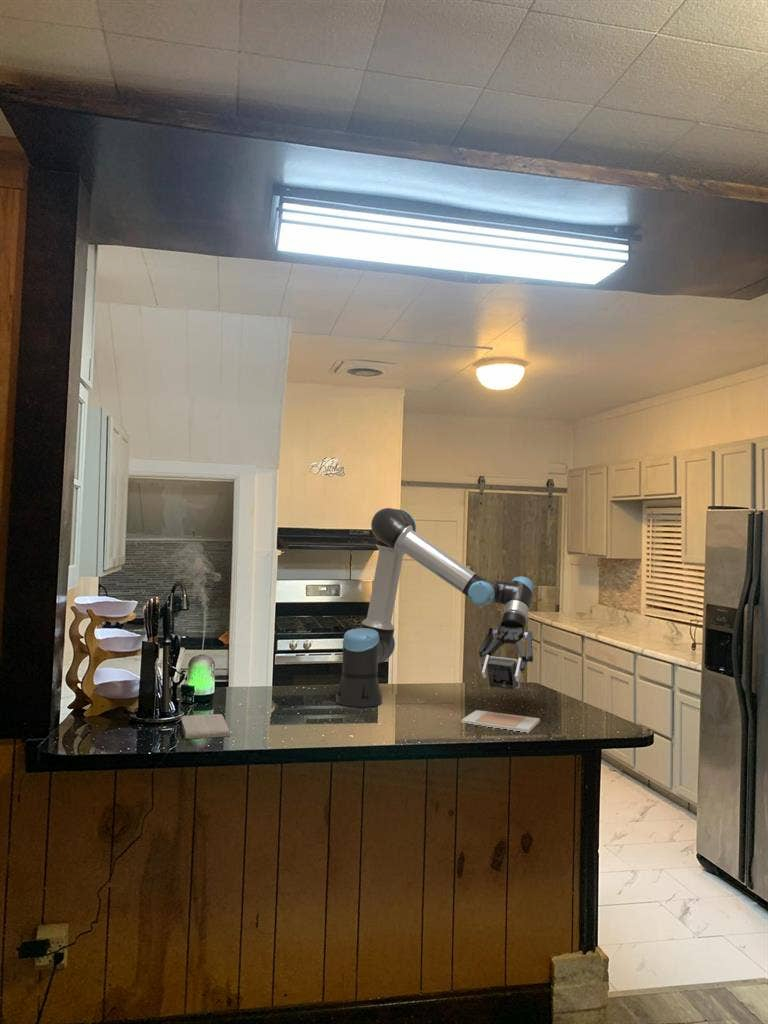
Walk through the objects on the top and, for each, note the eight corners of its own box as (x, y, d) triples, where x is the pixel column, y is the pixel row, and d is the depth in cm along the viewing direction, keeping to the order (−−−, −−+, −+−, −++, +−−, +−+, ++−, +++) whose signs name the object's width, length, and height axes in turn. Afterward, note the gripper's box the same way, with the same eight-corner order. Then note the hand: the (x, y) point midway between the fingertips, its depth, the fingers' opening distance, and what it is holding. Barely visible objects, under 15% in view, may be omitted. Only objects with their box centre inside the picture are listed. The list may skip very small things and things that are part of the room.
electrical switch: (521, 688, 214) (520, 657, 214) (514, 693, 210) (513, 661, 210) (492, 684, 220) (491, 654, 219) (485, 689, 215) (484, 658, 215)
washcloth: (221, 721, 206) (222, 711, 206) (231, 738, 190) (231, 726, 190) (179, 724, 202) (179, 713, 202) (184, 742, 185) (185, 729, 185)
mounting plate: (461, 723, 212) (461, 719, 212) (476, 713, 225) (476, 709, 225) (528, 733, 203) (528, 728, 203) (539, 721, 217) (539, 717, 217)
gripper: (550, 628, 225) (538, 688, 210) (483, 623, 234) (467, 680, 219) (547, 612, 220) (535, 673, 205) (478, 608, 229) (462, 665, 214)
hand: (500, 676), depth 212 cm, fingers closed on electrical switch, 9 cm apart
